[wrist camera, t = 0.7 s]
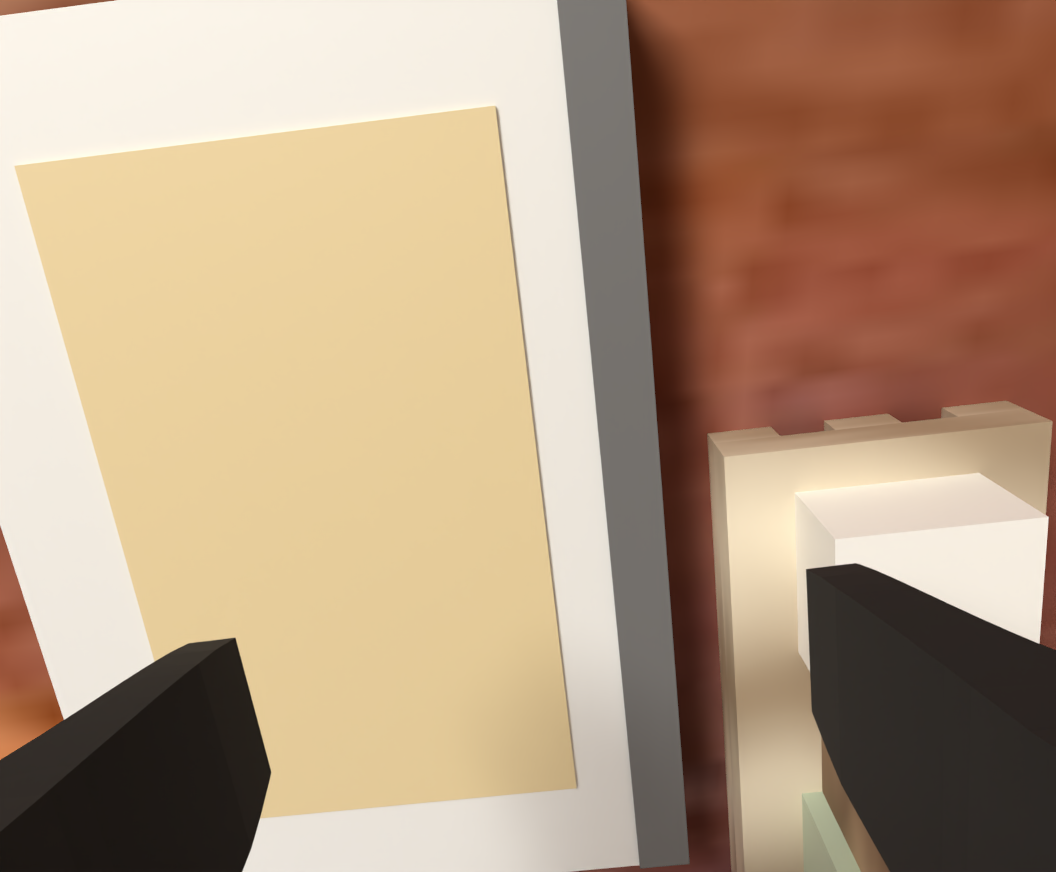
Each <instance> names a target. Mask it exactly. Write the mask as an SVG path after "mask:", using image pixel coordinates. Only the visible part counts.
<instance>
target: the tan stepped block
mask: <svg viewBox="0 0 1056 872" xmlns="http://www.w3.org/2000/svg"><path fill="white" fill-rule="evenodd" d="M1051 434H1052V421H1051V420H1048V419H1046V418H1044V417H1042V416H1039V415H1037V414H1035V413H1033V412H1031V411H1028V410H1026V409H1024V408H1022V407H1019V406H1017V405H1015V404H1013V403H1010V402H1008V401H1000V402H991V403H981V404H972V405H963V406H954V407H945V408H942V415H941V418H940V419H931V420H922V421H913V422H904V423H902V422H900V421H899V420H897V419H895V418H894V417H892V416H891V415H889V414H881V415H872V416H863V417H854V418H845V419H836V420H827V421H824V431H822V432H813V433H803V434H794V435H785V436H780V435H779V434H778V433H777V432H776V431H775V430H774V429H773V428H772V427H763V428H754V429H745V430H736V431H727V432H718V433H709V434H707V438H708V456H709V474H710V492H711V510H712V528H713V546H714V564H715V582H716V600H717V618H718V636H719V654H720V673H721V691H722V709H723V727H724V745H725V763H726V781H727V799H728V817H729V835H730V853H731V871H732V872H804V860H803V817H802V793H812V792H823V794H824V796H825V798H826V800H827V802H828V805H829V807H830V809H831V811H832V813H833V815H834V817H835V819H836V821H837V823H838V825H839V827H840V829H841V831H842V833H843V836H844V838H845V840H846V842H847V844H848V846H849V848H850V850H851V852H852V854H853V856H854V858H855V860H856V862H857V864H858V867H859V869H860V871H861V872H890V871H889V869H888V867H887V866H886V864H885V862H884V860H883V859H882V857H881V855H880V853H879V852H878V850H877V848H876V846H875V844H874V843H873V841H872V839H871V837H870V836H869V834H868V832H867V830H866V828H865V827H864V825H863V823H862V821H861V819H860V818H859V816H858V814H857V812H856V811H855V809H854V807H853V805H852V803H851V802H850V800H849V798H848V796H847V794H846V792H845V790H844V789H843V787H842V785H841V783H840V780H839V778H838V776H837V773H836V771H835V769H834V766H833V764H832V761H831V759H830V757H829V754H828V752H827V749H826V747H825V744H824V742H823V739H822V737H821V734H820V731H819V729H818V726H817V724H816V721H815V719H814V716H813V713H812V706H811V681H810V671H809V670H808V668H807V666H806V664H805V663H804V661H803V659H802V657H801V656H800V654H799V652H798V615H797V573H796V531H795V493H796V492H805V491H814V490H824V489H833V488H842V487H852V486H861V485H870V484H880V483H889V482H899V481H908V480H917V479H927V478H936V477H945V476H955V475H964V474H973V473H980V474H982V475H983V476H985V477H986V478H988V479H990V480H991V481H993V482H994V483H996V484H997V485H999V486H1001V487H1002V488H1004V489H1005V490H1007V491H1008V492H1010V493H1012V494H1013V495H1015V496H1016V497H1018V498H1020V499H1021V500H1023V501H1024V502H1026V503H1027V504H1029V505H1031V506H1032V507H1034V508H1035V509H1037V510H1038V511H1040V512H1042V513H1043V514H1045V515H1046V504H1047V490H1048V476H1049V462H1050V448H1051Z"/></svg>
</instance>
